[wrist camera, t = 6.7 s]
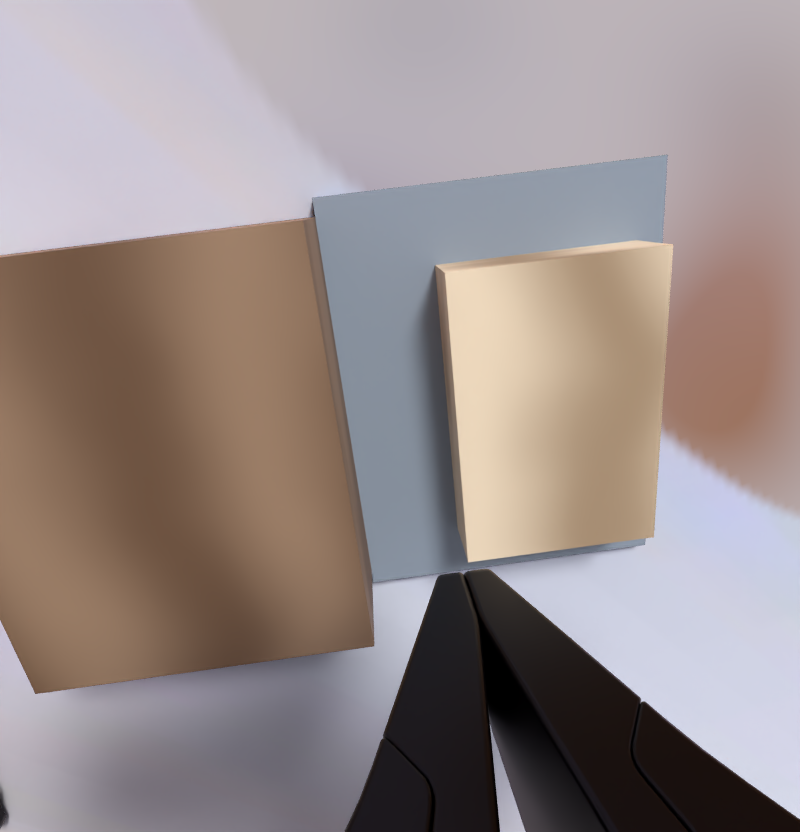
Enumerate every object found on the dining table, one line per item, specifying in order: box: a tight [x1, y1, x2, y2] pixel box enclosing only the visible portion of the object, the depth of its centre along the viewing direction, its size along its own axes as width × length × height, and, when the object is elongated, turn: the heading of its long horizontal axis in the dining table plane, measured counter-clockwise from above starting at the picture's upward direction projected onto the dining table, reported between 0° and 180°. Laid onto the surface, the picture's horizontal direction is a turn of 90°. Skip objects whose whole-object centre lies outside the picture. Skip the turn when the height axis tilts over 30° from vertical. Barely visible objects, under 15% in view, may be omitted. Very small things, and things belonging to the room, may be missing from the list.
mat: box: [312, 155, 668, 582], centre depth 18 cm, size 10×13×1 cm
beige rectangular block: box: [435, 240, 673, 562], centre depth 17 cm, size 6×9×2 cm, turn 7°
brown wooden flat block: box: [0, 217, 374, 694], centre depth 16 cm, size 10×12×4 cm
